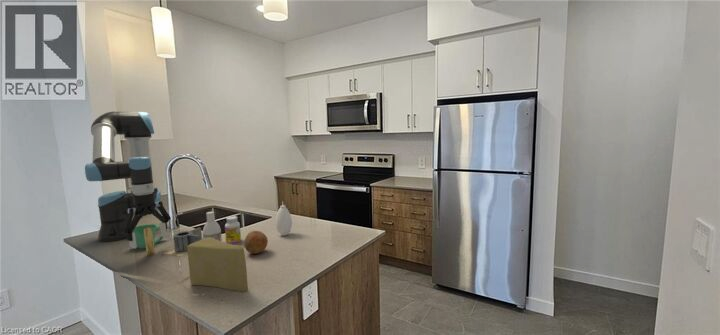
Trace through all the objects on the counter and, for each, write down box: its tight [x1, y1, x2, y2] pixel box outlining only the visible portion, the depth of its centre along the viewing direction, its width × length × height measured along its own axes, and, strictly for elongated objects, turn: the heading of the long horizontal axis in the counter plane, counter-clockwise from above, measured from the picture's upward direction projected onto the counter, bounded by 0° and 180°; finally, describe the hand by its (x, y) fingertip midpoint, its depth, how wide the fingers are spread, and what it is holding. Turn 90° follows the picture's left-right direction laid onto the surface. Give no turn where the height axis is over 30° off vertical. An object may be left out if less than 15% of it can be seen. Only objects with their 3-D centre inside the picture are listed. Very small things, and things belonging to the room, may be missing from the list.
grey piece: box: [172, 227, 203, 252], centre depth 139 cm, size 13×13×7 cm
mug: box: [133, 224, 168, 249], centre depth 144 cm, size 15×10×10 cm
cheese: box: [187, 237, 249, 292], centre depth 106 cm, size 22×10×15 cm, turn 65°
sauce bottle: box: [275, 200, 293, 237], centre depth 155 cm, size 8×8×18 cm
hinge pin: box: [144, 227, 156, 257], centre depth 131 cm, size 3×3×13 cm
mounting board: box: [162, 248, 188, 258], centre depth 138 cm, size 15×16×1 cm
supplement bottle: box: [224, 215, 242, 245], centre depth 145 cm, size 7×7×13 cm
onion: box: [243, 230, 269, 255], centre depth 133 cm, size 10×10×10 cm
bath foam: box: [202, 211, 223, 242], centre depth 128 cm, size 7×7×20 cm
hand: (149, 242), depth 131 cm, fingers open, 13 cm apart
